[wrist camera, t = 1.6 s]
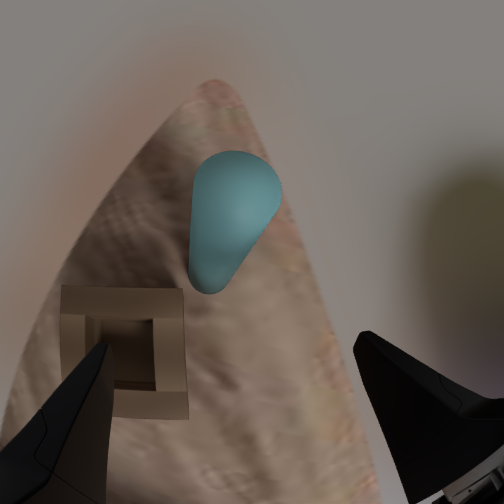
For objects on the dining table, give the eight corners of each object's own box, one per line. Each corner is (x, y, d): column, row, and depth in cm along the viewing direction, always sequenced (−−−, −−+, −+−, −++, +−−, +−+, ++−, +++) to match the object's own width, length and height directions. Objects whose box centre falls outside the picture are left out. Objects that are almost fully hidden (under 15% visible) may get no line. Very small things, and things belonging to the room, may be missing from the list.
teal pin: (230, 293, 22) (286, 229, 10) (188, 294, 21) (192, 226, 9) (228, 254, 23) (277, 154, 11) (188, 253, 22) (195, 148, 10)
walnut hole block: (188, 404, 19) (189, 419, 14) (87, 398, 17) (65, 410, 13) (183, 299, 21) (182, 288, 17) (84, 297, 19) (61, 285, 15)
